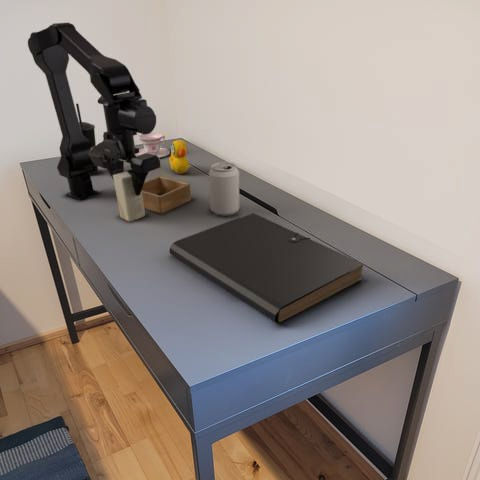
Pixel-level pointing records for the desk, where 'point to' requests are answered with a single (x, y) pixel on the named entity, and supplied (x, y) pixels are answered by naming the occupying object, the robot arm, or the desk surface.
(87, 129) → the drinking cup
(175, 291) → the desk surface
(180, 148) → the duckling
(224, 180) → the can
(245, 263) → the black book
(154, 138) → the teacup
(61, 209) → the desk surface
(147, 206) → the crate
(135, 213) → the box
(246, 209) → the desk surface
